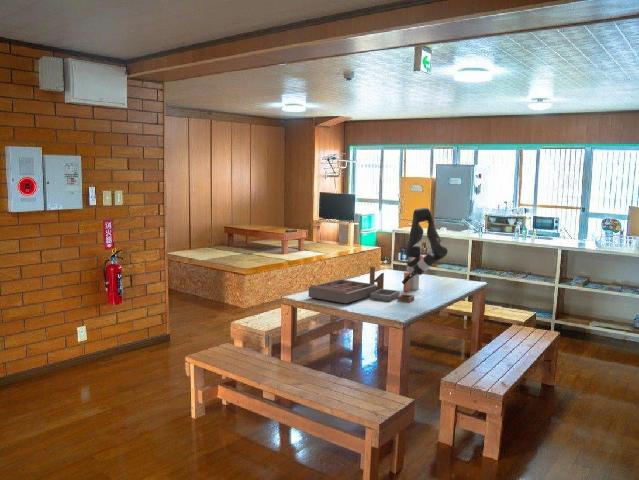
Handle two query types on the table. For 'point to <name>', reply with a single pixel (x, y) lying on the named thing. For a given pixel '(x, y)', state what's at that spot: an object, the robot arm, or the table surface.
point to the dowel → (407, 284)
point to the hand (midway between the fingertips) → (403, 282)
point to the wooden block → (379, 279)
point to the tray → (384, 295)
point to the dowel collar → (406, 298)
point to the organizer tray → (341, 291)
